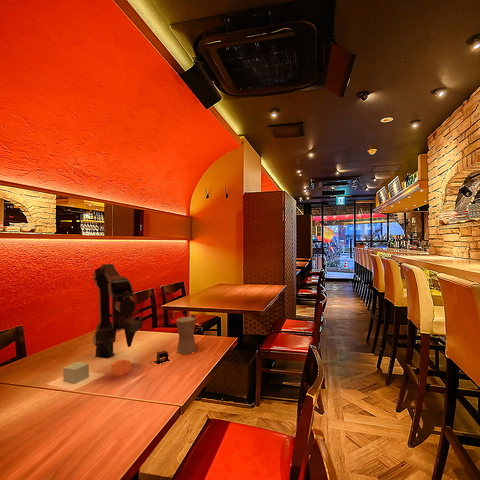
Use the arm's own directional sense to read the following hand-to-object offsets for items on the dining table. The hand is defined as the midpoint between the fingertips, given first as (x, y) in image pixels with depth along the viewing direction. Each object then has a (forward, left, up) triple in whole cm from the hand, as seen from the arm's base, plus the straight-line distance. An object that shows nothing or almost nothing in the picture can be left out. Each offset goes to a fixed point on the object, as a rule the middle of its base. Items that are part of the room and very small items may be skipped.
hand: (120, 350), depth 121 cm
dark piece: (-17, +7, -10) cm, 21 cm away
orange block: (0, 0, -10) cm, 10 cm away
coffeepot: (-33, +9, -10) cm, 36 cm away
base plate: (+11, -11, -9) cm, 18 cm away
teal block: (+11, -11, -8) cm, 18 cm away
